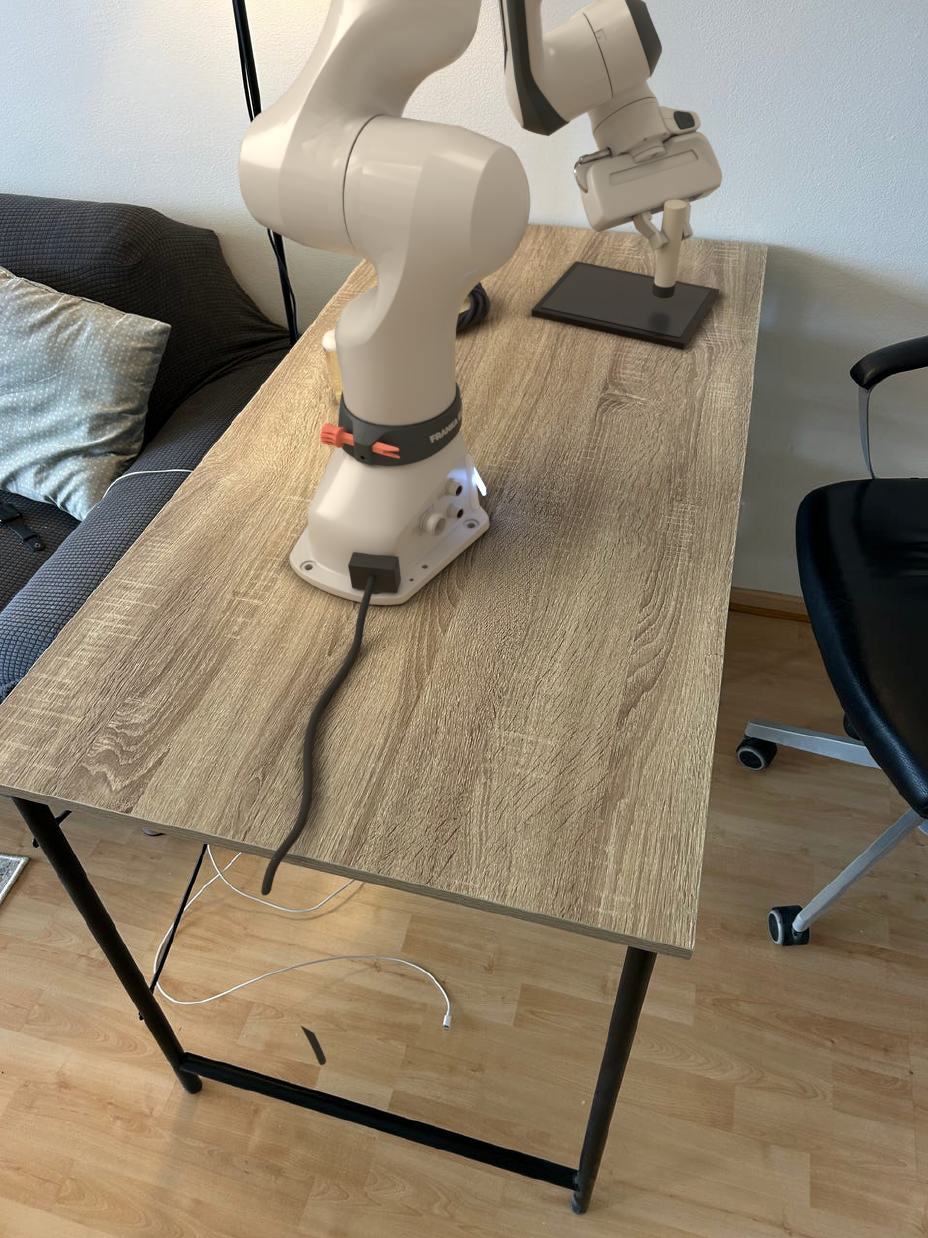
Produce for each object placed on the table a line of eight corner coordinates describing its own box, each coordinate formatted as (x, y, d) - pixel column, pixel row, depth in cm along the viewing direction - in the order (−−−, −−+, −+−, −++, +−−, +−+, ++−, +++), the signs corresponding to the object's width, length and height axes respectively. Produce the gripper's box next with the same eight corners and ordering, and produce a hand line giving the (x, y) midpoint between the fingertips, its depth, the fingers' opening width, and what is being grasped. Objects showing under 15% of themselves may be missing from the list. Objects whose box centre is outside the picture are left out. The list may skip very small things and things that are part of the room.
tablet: (683, 349, 118) (684, 342, 117) (531, 315, 125) (531, 308, 125) (718, 295, 128) (719, 288, 127) (575, 267, 135) (575, 259, 134)
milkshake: (371, 408, 111) (362, 335, 104) (329, 409, 111) (316, 335, 104) (375, 388, 114) (366, 315, 107) (333, 388, 114) (321, 316, 107)
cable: (500, 299, 129) (500, 270, 126) (474, 349, 120) (473, 319, 117) (388, 286, 133) (385, 258, 129) (354, 334, 123) (350, 305, 120)
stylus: (670, 300, 121) (683, 210, 112) (649, 295, 122) (660, 206, 113) (677, 290, 123) (690, 201, 114) (656, 286, 124) (668, 197, 115)
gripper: (580, 145, 109) (623, 253, 111) (707, 109, 116) (746, 211, 118) (557, 172, 115) (598, 274, 116) (679, 136, 122) (716, 233, 123)
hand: (673, 242), depth 117 cm, fingers closed on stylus, 3 cm apart
